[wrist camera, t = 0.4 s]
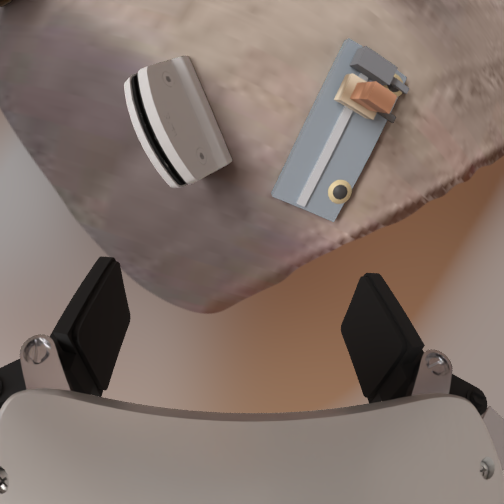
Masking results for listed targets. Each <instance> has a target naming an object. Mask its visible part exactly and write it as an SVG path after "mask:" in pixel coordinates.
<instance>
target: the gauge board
mask: <svg viewBox="0 0 504 504" xmlns="http://www.w3.org/2000/svg"><path fill="white" fill-rule="evenodd" d="M352 73H353V74H355V75H357V76H358V77H360V78H361V79H363V80H365V81H366V82H374V81H376V82H378V83H379V84H381V85H382V86H384V87H385V88H387V89H388V90H389V91H391V92H392V93H394V94H395V95H396V96H397V98H398V96H400V95H401V94H402V93H404V94H407V92H408V90H409V88H408V87H407V86H406V85H405V84H404V83H405V81H406V78H407V77H406V76H404V75H403V74H402V73H400V72H399V71H398V70H397V67H396V66H395V65H393V64H392V63H390V62H389V61H388V60H386V59H385V58H383V57H382V56H381V55H379V54H378V53H376V52H375V51H373V50H372V49H370V48H368V47H367V46H364V47H363V46H361V45H359V44H358V43H356V42H354V41H353V40H351V39H349V38H348V39H346V40H345V41H344V43H343V45H342V47H341V49H340V51H339V53H338V55H337V57H336V59H335V61H334V63H333V65H332V67H331V69H330V71H329V73H328V76H327V78H326V80H325V82H324V84H323V86H322V88H321V90H320V92H319V94H318V96H317V98H316V100H315V102H314V104H313V107H312V109H311V111H310V113H309V115H308V117H307V119H306V121H305V123H304V125H303V127H302V129H301V131H300V134H299V136H298V138H297V140H296V142H295V144H294V146H293V148H292V150H291V152H290V155H289V157H288V159H287V161H286V163H285V165H284V167H283V169H282V171H281V173H280V176H279V178H278V180H277V182H276V184H275V186H274V188H273V190H272V192H271V194H272V197H275V198H277V199H280V200H282V201H285V202H287V203H290V204H292V205H295V206H297V207H299V208H302V209H304V210H307V211H309V212H311V213H314V214H316V215H318V216H321V217H323V218H325V219H328V220H330V221H332V222H334V221H335V219H336V217H337V215H338V214H339V212H340V210H341V208H342V206H343V205H344V203H345V202H346V201H347V200H348V199H349V198H350V196H351V193H352V188H353V186H354V184H355V183H356V181H357V179H358V177H359V175H360V173H361V171H362V169H363V167H364V166H365V164H366V162H367V160H368V158H369V156H370V154H371V152H372V150H373V148H374V146H375V144H376V142H377V140H378V138H379V136H380V134H381V132H382V130H383V128H384V126H385V124H386V122H387V120H386V119H385V118H383V117H382V116H380V115H379V114H377V113H376V115H375V117H374V120H372V119H367V118H364V117H363V116H361V115H359V114H358V113H356V112H354V111H353V110H351V109H349V108H348V107H346V106H344V105H342V104H341V103H339V102H337V101H335V100H334V98H335V96H336V94H337V92H338V90H339V88H340V86H341V83H342V81H343V79H344V77H345V75H346V74H352ZM396 101H397V99H396ZM396 101H395V103H396ZM395 103H394V105H395ZM394 105H393V107H394ZM393 107H392V109H393ZM392 109H391V111H392ZM390 113H391V112H390Z"/></svg>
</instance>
